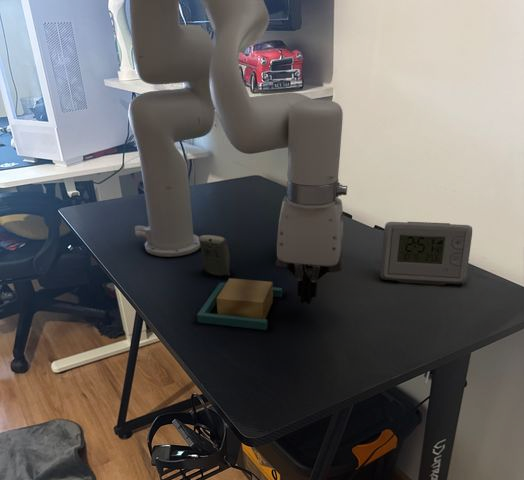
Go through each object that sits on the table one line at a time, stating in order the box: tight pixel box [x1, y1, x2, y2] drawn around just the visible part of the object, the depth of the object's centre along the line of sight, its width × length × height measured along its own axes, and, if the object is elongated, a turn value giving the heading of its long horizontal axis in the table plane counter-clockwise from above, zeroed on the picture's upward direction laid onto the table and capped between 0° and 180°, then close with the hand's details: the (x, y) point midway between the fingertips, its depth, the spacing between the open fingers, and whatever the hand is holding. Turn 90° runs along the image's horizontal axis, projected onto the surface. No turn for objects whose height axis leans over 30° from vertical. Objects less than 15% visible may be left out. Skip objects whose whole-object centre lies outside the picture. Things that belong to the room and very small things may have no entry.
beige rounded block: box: [198, 234, 231, 278], centre depth 101 cm, size 6×5×8 cm
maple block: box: [216, 277, 274, 319], centre depth 89 cm, size 8×8×4 cm
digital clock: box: [379, 221, 473, 286], centre depth 97 cm, size 16×9×11 cm, turn 69°
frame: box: [196, 281, 283, 331], centre depth 91 cm, size 12×13×2 cm
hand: (306, 299), depth 87 cm, fingers closed
